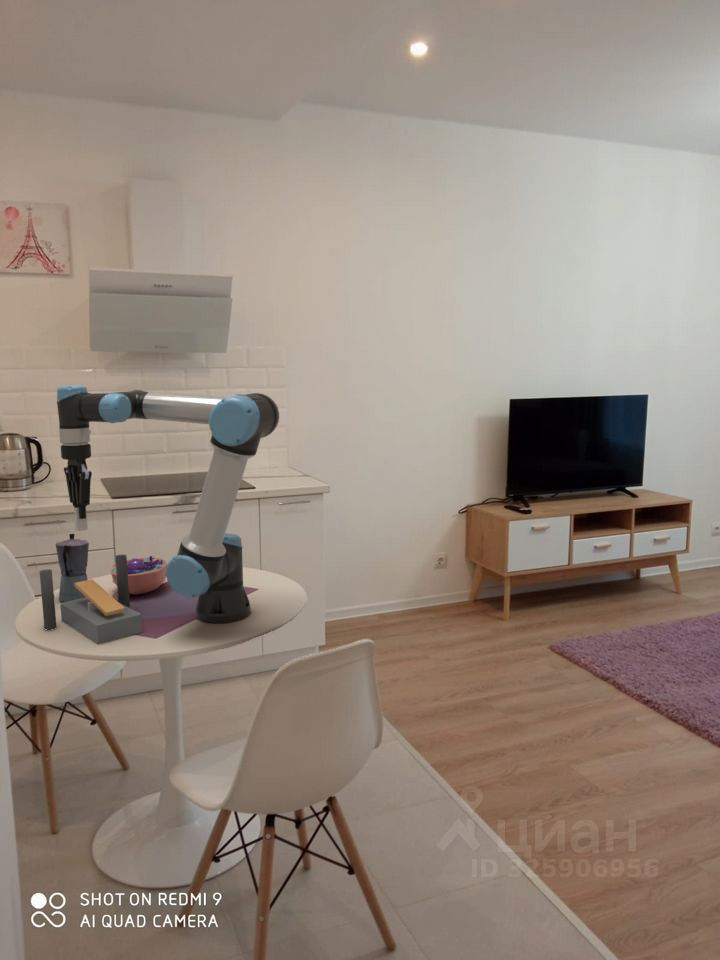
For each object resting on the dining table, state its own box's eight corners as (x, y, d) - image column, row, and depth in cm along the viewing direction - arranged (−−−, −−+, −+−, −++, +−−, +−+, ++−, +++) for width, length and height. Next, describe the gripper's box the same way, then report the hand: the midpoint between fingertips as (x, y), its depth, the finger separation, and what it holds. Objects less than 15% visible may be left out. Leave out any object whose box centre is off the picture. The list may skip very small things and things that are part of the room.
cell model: (179, 582, 241) (177, 548, 239) (153, 602, 221) (151, 565, 219) (129, 580, 243) (126, 546, 241) (99, 600, 224) (96, 564, 222)
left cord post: (58, 628, 201) (53, 570, 198) (47, 631, 199) (42, 573, 196) (54, 625, 203) (49, 568, 201) (42, 628, 201) (37, 570, 199)
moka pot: (96, 590, 233) (92, 528, 230) (87, 607, 218) (82, 540, 215) (64, 592, 231) (59, 529, 228) (52, 609, 216) (47, 542, 213)
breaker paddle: (124, 611, 196) (124, 607, 196) (106, 616, 193) (106, 612, 192) (92, 582, 210) (92, 579, 209) (74, 586, 206) (74, 582, 206)
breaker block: (142, 632, 198) (140, 605, 196) (98, 644, 190) (96, 616, 188) (103, 610, 215) (101, 585, 214) (61, 620, 207) (59, 595, 206)
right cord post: (131, 610, 215) (128, 555, 212) (121, 612, 213) (118, 557, 210) (127, 607, 217) (123, 554, 215) (117, 609, 215) (113, 555, 213)
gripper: (99, 444, 198) (105, 531, 202) (79, 440, 207) (85, 523, 211) (71, 447, 193) (77, 536, 197) (52, 442, 202) (58, 528, 206)
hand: (81, 529), depth 204 cm, fingers closed
